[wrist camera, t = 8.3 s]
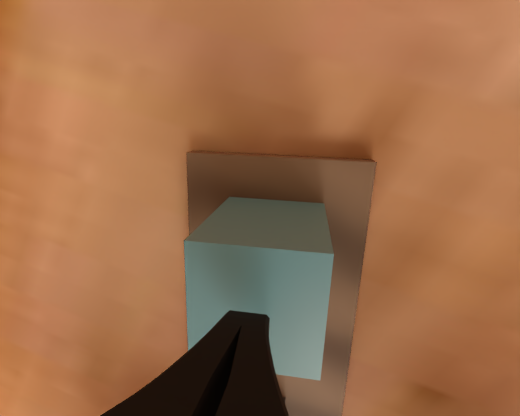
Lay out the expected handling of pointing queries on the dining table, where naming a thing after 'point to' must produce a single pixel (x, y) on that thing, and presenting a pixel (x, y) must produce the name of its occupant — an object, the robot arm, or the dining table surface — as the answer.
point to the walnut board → (341, 231)
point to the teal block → (264, 276)
